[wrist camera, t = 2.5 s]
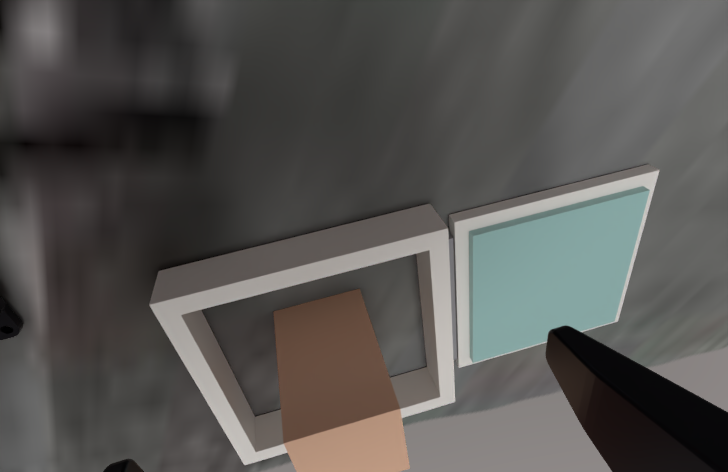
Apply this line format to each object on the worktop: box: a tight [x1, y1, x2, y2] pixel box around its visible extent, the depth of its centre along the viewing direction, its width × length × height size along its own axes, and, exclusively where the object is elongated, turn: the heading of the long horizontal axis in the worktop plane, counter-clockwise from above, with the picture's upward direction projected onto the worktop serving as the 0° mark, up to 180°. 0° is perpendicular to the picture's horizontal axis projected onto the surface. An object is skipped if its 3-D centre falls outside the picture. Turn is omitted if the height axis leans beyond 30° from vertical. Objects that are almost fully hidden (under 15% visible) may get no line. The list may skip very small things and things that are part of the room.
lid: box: [448, 164, 659, 368], centre depth 27 cm, size 13×12×1 cm
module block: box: [273, 289, 410, 472], centre depth 23 cm, size 5×5×8 cm
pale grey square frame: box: [149, 203, 455, 465], centre depth 25 cm, size 14×15×2 cm
